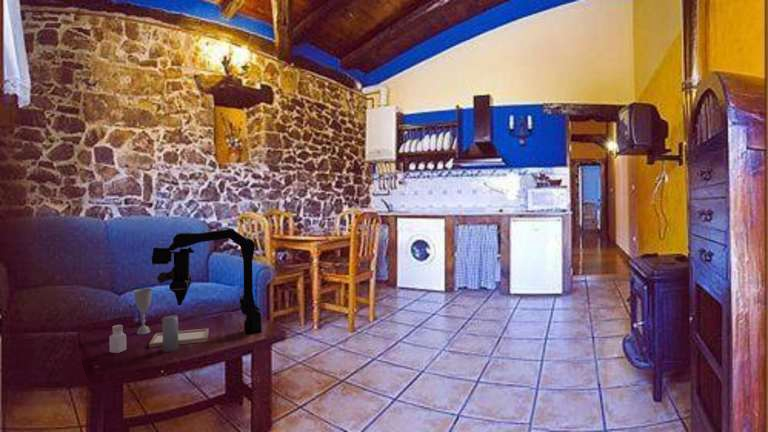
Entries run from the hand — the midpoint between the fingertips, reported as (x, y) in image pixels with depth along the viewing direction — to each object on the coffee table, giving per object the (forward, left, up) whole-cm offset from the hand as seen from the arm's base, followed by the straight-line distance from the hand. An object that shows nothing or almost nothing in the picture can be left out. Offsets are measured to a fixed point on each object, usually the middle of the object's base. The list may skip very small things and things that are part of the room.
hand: (181, 302), depth 164 cm
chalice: (+16, -14, -15) cm, 26 cm away
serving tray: (0, +1, -15) cm, 15 cm away
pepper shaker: (+20, +8, -15) cm, 26 cm away
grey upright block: (+2, +12, -15) cm, 19 cm away
